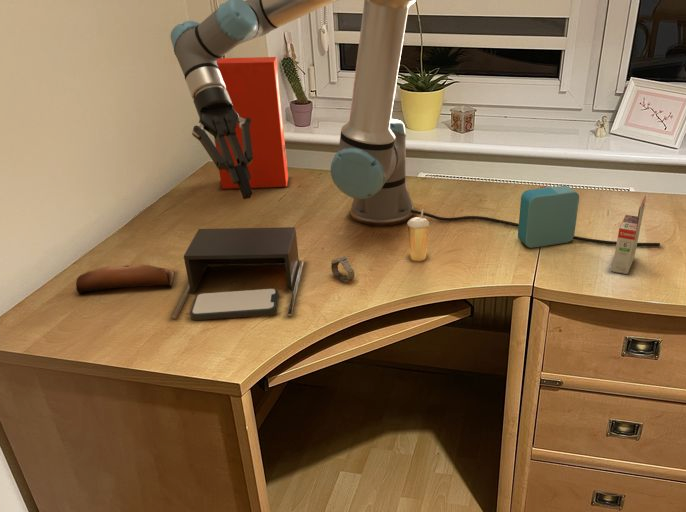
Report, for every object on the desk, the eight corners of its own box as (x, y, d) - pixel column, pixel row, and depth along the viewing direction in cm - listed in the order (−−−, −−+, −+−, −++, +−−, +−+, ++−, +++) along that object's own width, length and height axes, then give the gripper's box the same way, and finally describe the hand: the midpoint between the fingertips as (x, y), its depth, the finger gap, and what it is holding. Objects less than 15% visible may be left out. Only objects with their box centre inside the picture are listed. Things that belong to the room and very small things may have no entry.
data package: (564, 234, 163) (570, 184, 156) (573, 242, 159) (580, 191, 153) (516, 241, 160) (521, 190, 153) (525, 249, 156) (530, 197, 150)
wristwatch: (340, 272, 148) (339, 250, 145) (358, 282, 144) (357, 259, 141) (327, 277, 146) (325, 255, 143) (345, 287, 142) (343, 265, 139)
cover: (298, 261, 152) (295, 227, 147) (292, 290, 140) (288, 254, 136) (204, 263, 151) (198, 228, 147) (190, 292, 140) (183, 255, 136)
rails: (303, 263, 151) (303, 260, 151) (291, 317, 132) (291, 314, 132) (199, 265, 151) (199, 262, 151) (172, 319, 132) (171, 316, 131)
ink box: (610, 272, 146) (621, 205, 138) (617, 256, 152) (628, 192, 145) (628, 275, 145) (641, 207, 137) (634, 259, 151) (647, 194, 143)
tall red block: (226, 179, 197) (208, 57, 180) (288, 177, 198) (276, 56, 181) (222, 189, 190) (202, 64, 173) (286, 187, 191) (273, 62, 174)
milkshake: (432, 253, 155) (433, 210, 149) (424, 263, 151) (425, 219, 145) (412, 250, 156) (412, 208, 151) (404, 260, 152) (404, 217, 146)
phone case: (190, 322, 131) (276, 316, 132) (188, 315, 130) (275, 309, 131) (197, 300, 139) (279, 294, 140) (196, 292, 138) (278, 287, 139)
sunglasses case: (175, 268, 149) (168, 250, 143) (175, 296, 146) (168, 279, 140) (86, 275, 146) (75, 257, 140) (84, 304, 143) (73, 287, 137)
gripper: (235, 100, 156) (272, 197, 154) (177, 108, 150) (215, 209, 149) (242, 81, 149) (280, 182, 148) (181, 89, 144) (221, 194, 142)
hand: (248, 196), depth 148 cm, fingers closed
